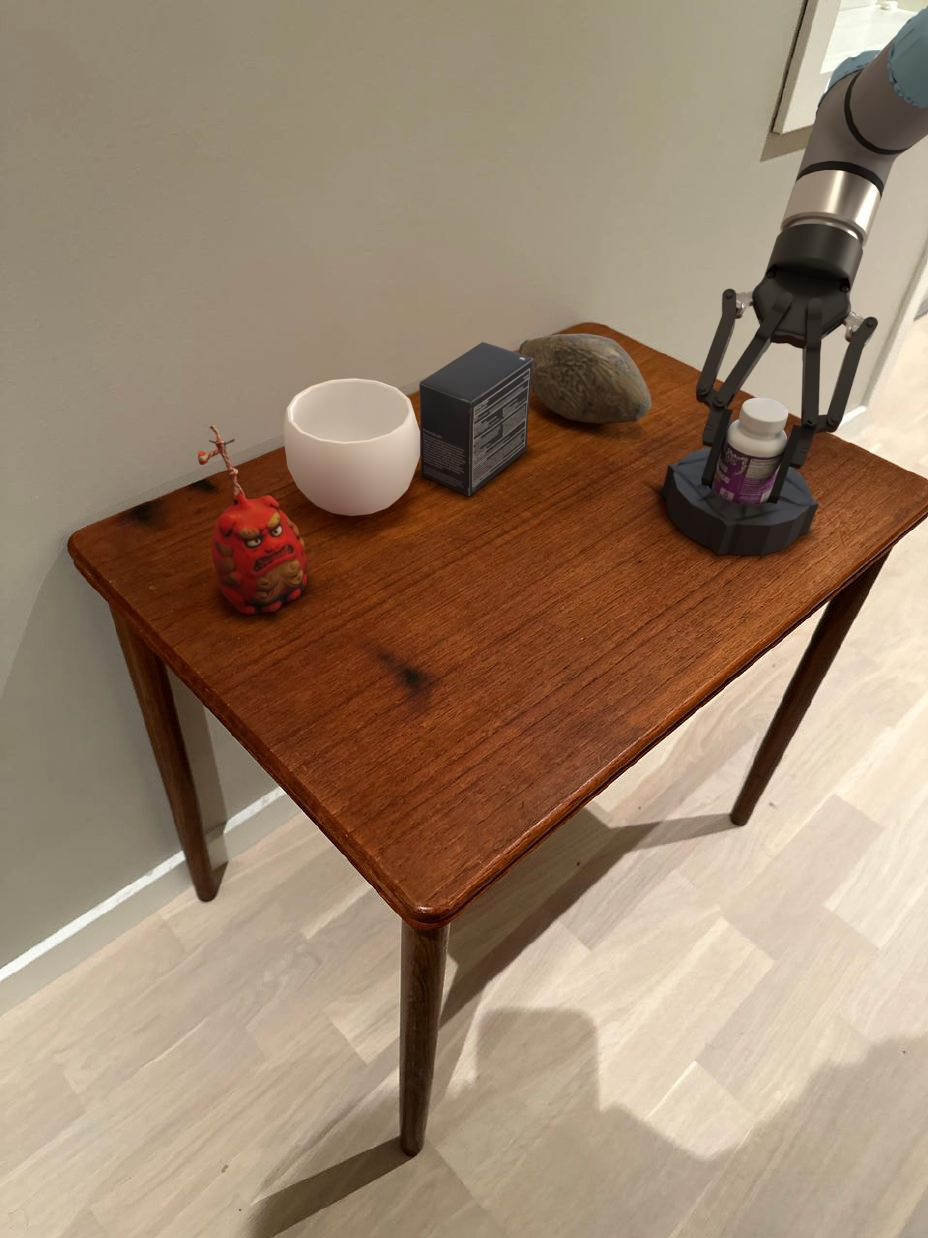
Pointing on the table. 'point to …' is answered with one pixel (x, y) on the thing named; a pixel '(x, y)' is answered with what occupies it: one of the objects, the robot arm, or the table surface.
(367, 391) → the cup
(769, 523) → the dark grey faceted ring
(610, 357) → the stone
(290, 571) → the red clay folk toy
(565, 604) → the table surface
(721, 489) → the pill bottle
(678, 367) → the table surface
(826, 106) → the robot arm
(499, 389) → the small box
